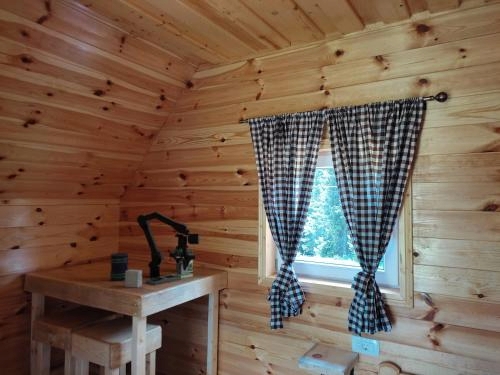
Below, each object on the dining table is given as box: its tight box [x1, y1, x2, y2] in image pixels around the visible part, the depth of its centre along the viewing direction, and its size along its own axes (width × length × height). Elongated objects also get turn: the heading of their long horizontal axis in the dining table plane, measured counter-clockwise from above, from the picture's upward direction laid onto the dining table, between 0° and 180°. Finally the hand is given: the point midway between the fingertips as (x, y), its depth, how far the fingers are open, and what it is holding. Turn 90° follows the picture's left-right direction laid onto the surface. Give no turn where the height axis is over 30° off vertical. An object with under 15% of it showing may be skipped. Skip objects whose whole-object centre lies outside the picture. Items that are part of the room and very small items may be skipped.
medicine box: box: [124, 269, 143, 288], centre depth 200 cm, size 8×4×9 cm, turn 75°
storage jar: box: [110, 252, 129, 282], centre depth 216 cm, size 10×10×15 cm
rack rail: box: [145, 273, 182, 286], centre depth 212 cm, size 9×18×2 cm, turn 139°
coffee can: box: [183, 248, 194, 273], centre depth 242 cm, size 10×10×14 cm
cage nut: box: [175, 260, 188, 275], centre depth 225 cm, size 5×5×8 cm
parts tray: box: [171, 272, 194, 280], centre depth 225 cm, size 9×9×2 cm
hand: (182, 269), depth 225 cm, fingers closed on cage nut, 5 cm apart
